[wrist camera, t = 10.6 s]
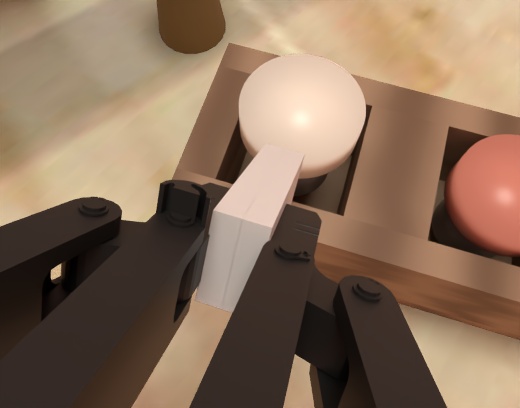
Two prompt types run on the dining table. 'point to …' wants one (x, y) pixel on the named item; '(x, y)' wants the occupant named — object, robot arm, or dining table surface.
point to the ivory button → (303, 113)
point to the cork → (191, 24)
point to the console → (379, 194)
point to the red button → (483, 200)
